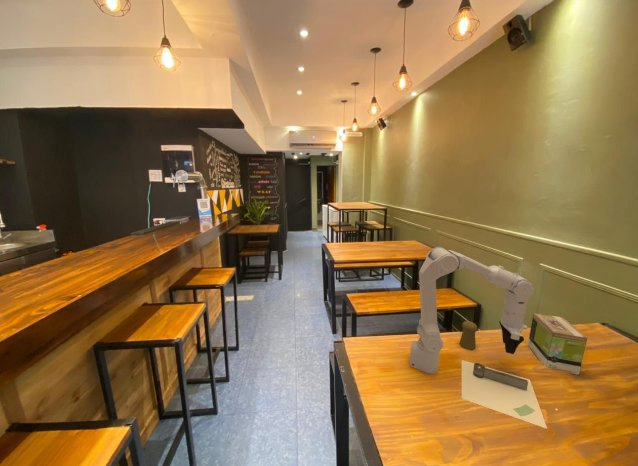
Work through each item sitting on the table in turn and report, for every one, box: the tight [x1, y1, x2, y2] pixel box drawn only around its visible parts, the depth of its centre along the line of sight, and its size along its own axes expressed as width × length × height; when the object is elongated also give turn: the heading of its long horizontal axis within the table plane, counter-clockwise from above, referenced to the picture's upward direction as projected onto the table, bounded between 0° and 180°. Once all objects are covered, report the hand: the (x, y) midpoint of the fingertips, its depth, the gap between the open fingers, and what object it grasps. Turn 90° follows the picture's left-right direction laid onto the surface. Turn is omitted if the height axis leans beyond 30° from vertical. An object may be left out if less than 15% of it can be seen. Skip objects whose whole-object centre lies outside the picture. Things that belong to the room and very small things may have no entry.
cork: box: [459, 320, 478, 351], centre depth 102 cm, size 6×6×11 cm
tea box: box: [527, 312, 588, 376], centre depth 95 cm, size 15×10×15 cm
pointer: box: [473, 362, 528, 390], centre depth 84 cm, size 15×3×3 cm, turn 61°
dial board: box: [461, 359, 548, 430], centre depth 81 cm, size 20×20×1 cm
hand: (508, 347), depth 86 cm, fingers open, 5 cm apart
